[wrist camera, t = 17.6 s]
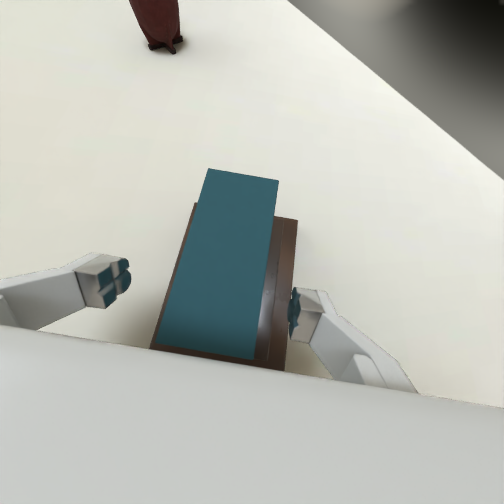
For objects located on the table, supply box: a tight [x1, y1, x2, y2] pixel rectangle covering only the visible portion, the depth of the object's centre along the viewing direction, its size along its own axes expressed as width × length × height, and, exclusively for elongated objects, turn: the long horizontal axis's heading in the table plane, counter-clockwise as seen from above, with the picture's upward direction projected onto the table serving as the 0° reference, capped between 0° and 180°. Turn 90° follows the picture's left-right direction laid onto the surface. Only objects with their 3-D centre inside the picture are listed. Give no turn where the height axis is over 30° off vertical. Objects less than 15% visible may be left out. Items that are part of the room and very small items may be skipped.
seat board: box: [149, 202, 298, 371], centre depth 18 cm, size 16×12×4 cm
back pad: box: [155, 168, 279, 360], centre depth 14 cm, size 10×4×9 cm, turn 171°
